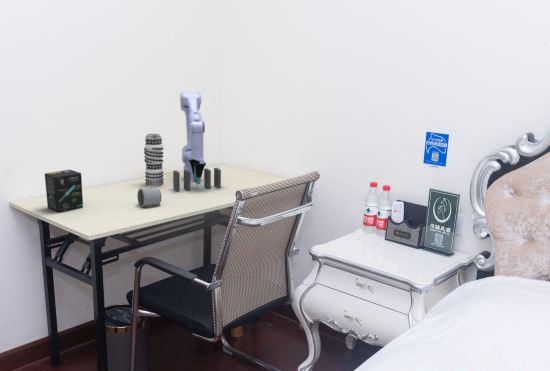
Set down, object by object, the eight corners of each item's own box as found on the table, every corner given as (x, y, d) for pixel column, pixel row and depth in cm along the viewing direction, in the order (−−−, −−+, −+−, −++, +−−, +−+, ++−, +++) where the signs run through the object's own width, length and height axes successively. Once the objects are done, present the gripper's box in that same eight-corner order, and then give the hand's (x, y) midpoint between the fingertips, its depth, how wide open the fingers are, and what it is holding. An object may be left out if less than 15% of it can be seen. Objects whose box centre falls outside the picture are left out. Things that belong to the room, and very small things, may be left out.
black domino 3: (207, 189, 246) (207, 170, 244) (204, 186, 250) (204, 168, 248) (210, 189, 247) (210, 170, 245) (207, 186, 251) (207, 168, 249)
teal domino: (197, 184, 243) (197, 165, 241) (194, 182, 248) (193, 163, 245) (200, 184, 244) (200, 165, 242) (197, 181, 248) (197, 163, 246)
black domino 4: (217, 188, 248) (217, 170, 246) (214, 186, 253) (214, 167, 250) (220, 188, 249) (220, 169, 247) (217, 185, 253) (217, 167, 251)
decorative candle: (166, 184, 255) (166, 133, 249) (161, 189, 246) (159, 136, 240) (148, 183, 255) (147, 132, 249) (142, 187, 246) (140, 135, 240)
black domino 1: (176, 192, 240) (176, 172, 237) (173, 189, 244) (173, 170, 242) (179, 191, 240) (179, 172, 238) (176, 189, 245) (176, 170, 242)
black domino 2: (186, 191, 242) (186, 172, 240) (183, 188, 246) (183, 169, 244) (190, 190, 242) (190, 171, 240) (187, 188, 247) (186, 169, 245)
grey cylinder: (162, 206, 218) (162, 188, 217) (144, 209, 213) (143, 190, 212) (152, 200, 227) (151, 183, 225) (134, 203, 222) (133, 185, 220)
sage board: (167, 189, 244) (167, 189, 244) (220, 185, 256) (220, 184, 256) (172, 194, 237) (172, 193, 237) (226, 189, 249) (226, 188, 249)
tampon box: (71, 203, 218) (69, 168, 215) (84, 207, 213) (82, 172, 209) (46, 208, 210) (43, 172, 207) (58, 213, 204) (55, 176, 201)
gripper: (184, 145, 246) (184, 173, 249) (193, 150, 234) (193, 179, 237) (198, 144, 249) (198, 172, 253) (208, 149, 237) (208, 178, 240)
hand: (197, 176), depth 245 cm, fingers closed on teal domino, 5 cm apart
